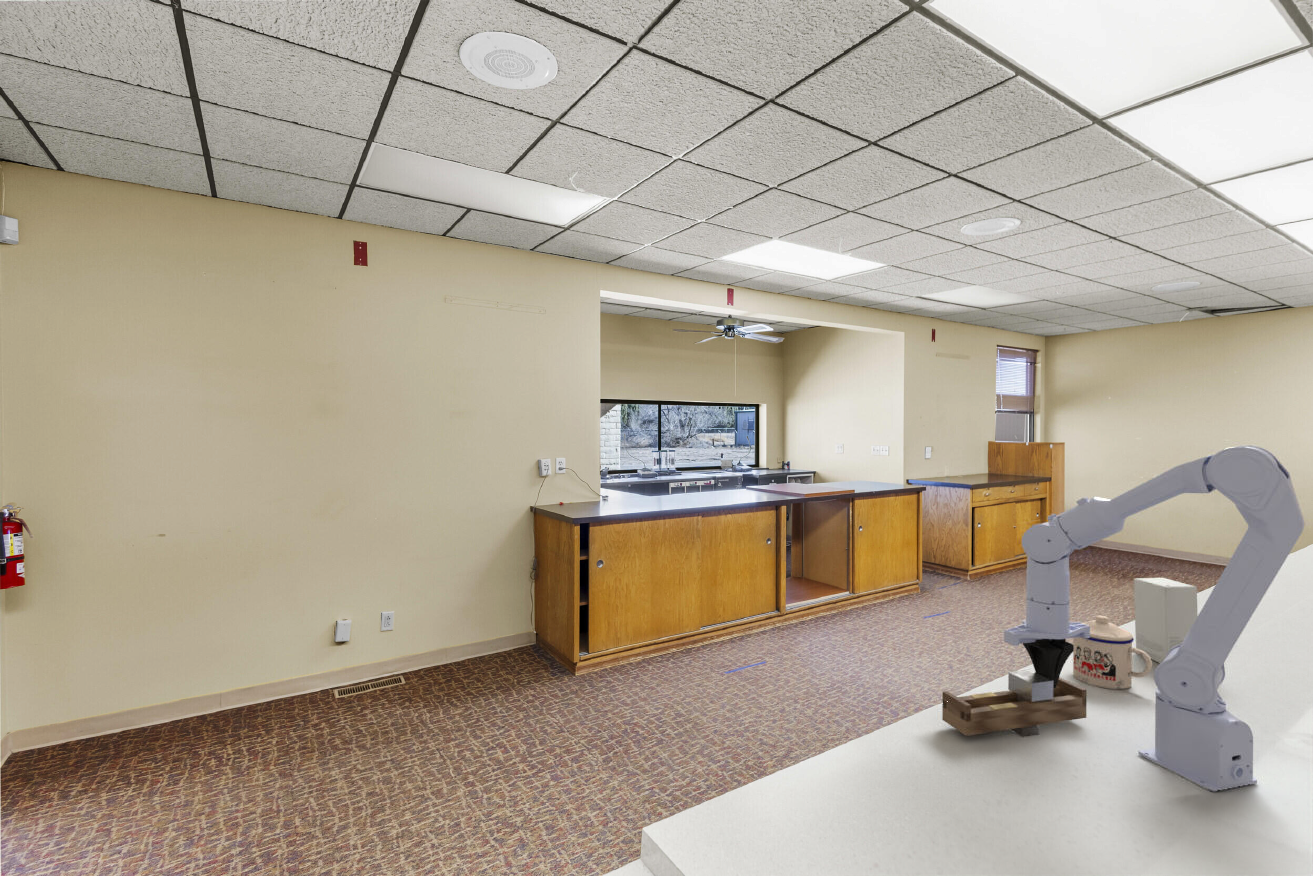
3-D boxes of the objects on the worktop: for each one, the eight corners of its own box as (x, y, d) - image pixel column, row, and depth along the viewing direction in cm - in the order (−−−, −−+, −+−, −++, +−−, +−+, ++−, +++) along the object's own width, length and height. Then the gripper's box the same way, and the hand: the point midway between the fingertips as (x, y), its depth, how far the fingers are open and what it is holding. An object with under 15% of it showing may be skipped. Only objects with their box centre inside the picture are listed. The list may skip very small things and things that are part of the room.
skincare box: (1200, 668, 117) (1200, 587, 117) (1165, 667, 117) (1165, 587, 117) (1164, 652, 125) (1165, 576, 125) (1131, 652, 125) (1132, 576, 125)
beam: (1055, 709, 100) (1055, 675, 100) (1089, 727, 94) (1089, 690, 94) (940, 726, 94) (940, 690, 94) (968, 745, 89) (969, 707, 88)
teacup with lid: (1062, 677, 113) (1062, 614, 113) (1085, 666, 118) (1085, 606, 118) (1140, 701, 103) (1140, 632, 103) (1162, 689, 108) (1162, 623, 107)
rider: (1029, 695, 97) (1029, 669, 97) (1053, 708, 93) (1053, 680, 93) (1008, 698, 96) (1008, 672, 96) (1031, 711, 92) (1031, 683, 92)
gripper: (1062, 590, 101) (1061, 671, 101) (989, 596, 98) (988, 680, 98) (1102, 601, 94) (1102, 689, 94) (1025, 608, 91) (1024, 699, 91)
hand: (1046, 686), depth 96 cm, fingers closed
